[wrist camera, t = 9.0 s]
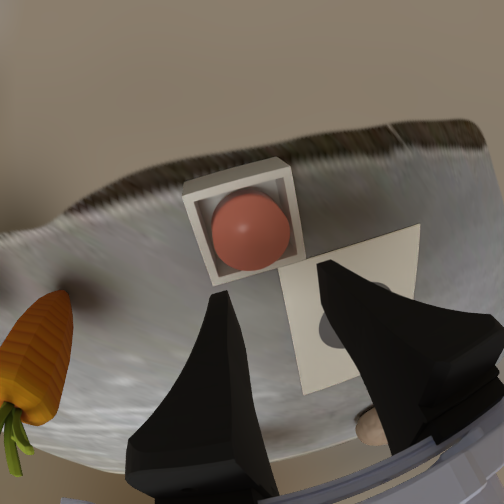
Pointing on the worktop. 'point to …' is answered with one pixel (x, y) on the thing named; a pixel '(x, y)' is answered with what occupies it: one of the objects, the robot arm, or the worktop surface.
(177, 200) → the worktop surface
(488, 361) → the robot arm
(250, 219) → the button
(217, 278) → the button housing
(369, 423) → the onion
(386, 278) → the paper sheet
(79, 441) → the worktop surface
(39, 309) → the carrot
